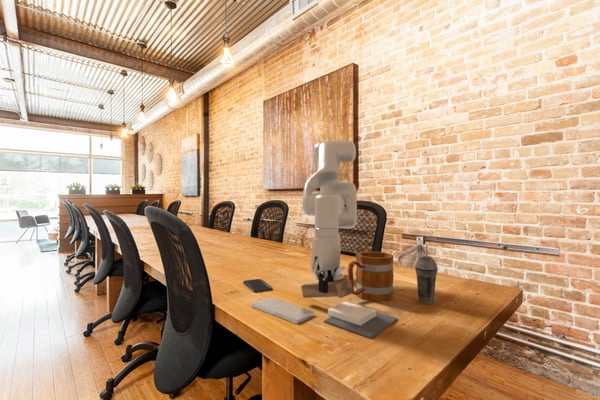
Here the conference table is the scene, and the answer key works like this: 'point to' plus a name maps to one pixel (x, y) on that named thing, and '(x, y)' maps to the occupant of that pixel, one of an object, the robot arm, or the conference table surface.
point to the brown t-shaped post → (334, 289)
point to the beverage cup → (426, 278)
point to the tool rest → (283, 310)
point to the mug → (373, 276)
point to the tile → (352, 313)
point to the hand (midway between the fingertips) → (326, 290)
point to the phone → (257, 285)
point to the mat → (365, 325)
